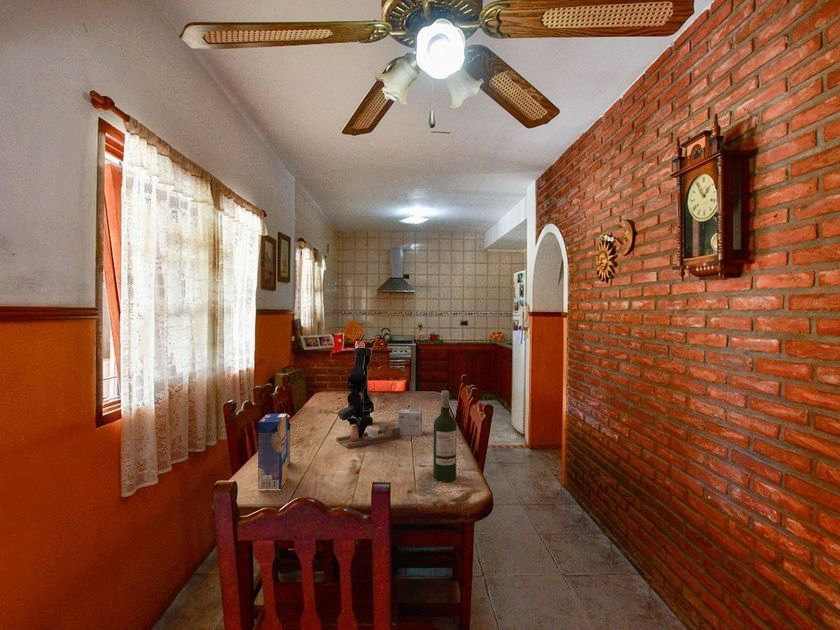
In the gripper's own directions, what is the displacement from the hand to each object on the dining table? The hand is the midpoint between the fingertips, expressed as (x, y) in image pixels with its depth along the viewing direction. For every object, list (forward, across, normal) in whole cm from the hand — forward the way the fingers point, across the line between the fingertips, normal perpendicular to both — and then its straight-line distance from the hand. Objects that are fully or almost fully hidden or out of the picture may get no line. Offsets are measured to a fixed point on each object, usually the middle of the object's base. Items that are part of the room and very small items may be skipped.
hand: (357, 436), depth 185 cm
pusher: (+3, 0, +8) cm, 8 cm away
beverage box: (+3, +25, -43) cm, 50 cm away
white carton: (+3, +2, +27) cm, 27 cm away
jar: (+1, 0, 0) cm, 1 cm away
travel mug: (+3, +8, -36) cm, 37 cm away
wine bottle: (+3, +53, +7) cm, 54 cm away
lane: (+3, 0, +6) cm, 6 cm away
